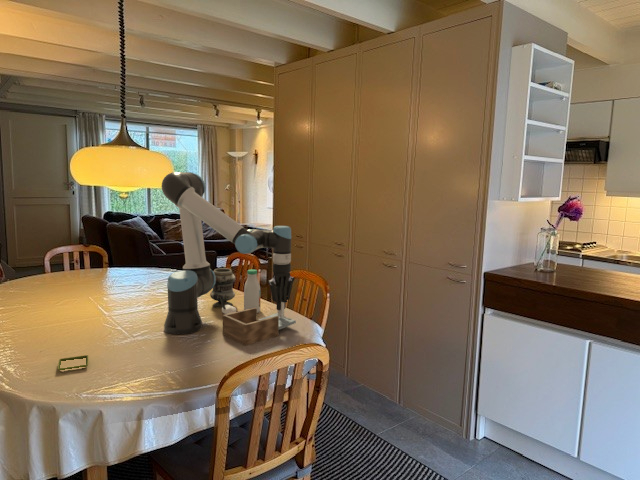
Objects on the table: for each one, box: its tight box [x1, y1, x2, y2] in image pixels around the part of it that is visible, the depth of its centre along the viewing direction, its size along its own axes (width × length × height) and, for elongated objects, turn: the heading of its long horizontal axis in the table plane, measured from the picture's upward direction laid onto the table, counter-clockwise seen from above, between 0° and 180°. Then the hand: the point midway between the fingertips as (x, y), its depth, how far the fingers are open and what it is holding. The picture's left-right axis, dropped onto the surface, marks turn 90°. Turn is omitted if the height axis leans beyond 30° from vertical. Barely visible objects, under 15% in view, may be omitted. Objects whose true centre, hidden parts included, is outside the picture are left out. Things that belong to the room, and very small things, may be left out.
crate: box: [221, 308, 280, 346], centre depth 177 cm, size 16×16×8 cm
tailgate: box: [257, 312, 297, 331], centre depth 187 cm, size 2×13×10 cm
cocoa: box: [219, 295, 238, 315], centre depth 195 cm, size 10×6×12 cm, turn 114°
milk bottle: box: [243, 268, 261, 314], centre depth 207 cm, size 8×8×20 cm
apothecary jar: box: [209, 267, 236, 309], centre depth 215 cm, size 12×12×18 cm
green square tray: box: [57, 354, 89, 371], centre depth 145 cm, size 9×9×2 cm
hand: (280, 316), depth 188 cm, fingers closed
